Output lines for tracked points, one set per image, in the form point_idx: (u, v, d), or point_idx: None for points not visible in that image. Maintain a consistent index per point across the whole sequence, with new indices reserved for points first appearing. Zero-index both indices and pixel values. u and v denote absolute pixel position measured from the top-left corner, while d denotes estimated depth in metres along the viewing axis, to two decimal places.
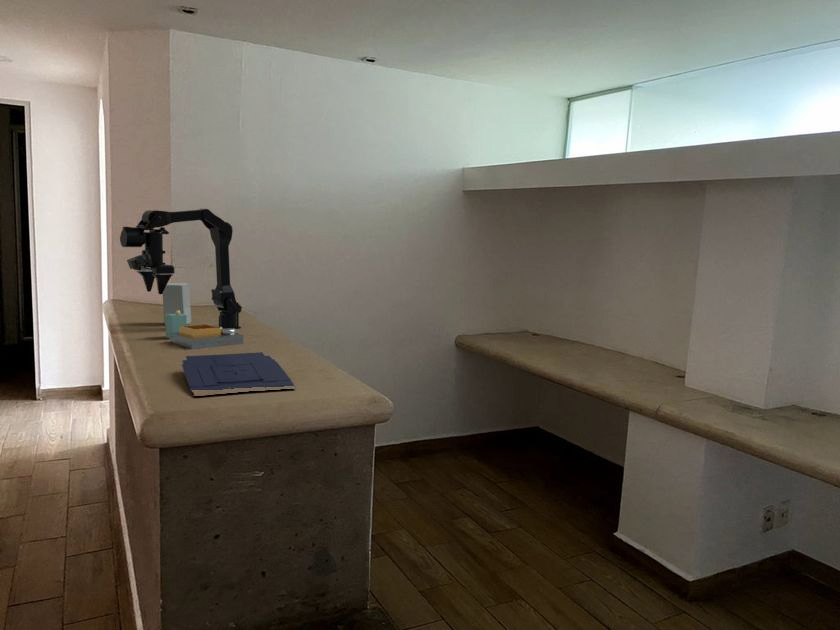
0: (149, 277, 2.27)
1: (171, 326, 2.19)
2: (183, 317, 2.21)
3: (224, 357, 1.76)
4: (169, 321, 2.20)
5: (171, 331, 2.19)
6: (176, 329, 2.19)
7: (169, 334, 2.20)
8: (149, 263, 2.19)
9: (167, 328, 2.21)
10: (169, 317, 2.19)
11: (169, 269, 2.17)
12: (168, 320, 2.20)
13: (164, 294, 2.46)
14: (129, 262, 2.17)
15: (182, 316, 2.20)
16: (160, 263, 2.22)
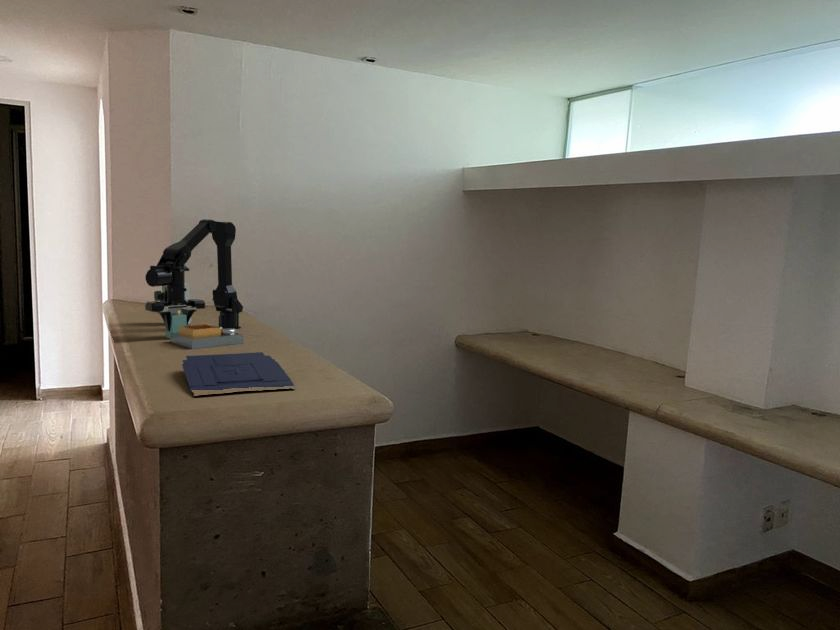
0: None
1: (171, 326, 2.19)
2: (183, 317, 2.21)
3: (224, 357, 1.76)
4: None
5: (171, 331, 2.19)
6: (176, 329, 2.19)
7: (169, 334, 2.20)
8: (163, 299, 2.20)
9: None
10: None
11: (150, 307, 2.13)
12: None
13: None
14: None
15: (182, 316, 2.20)
16: (169, 301, 2.18)
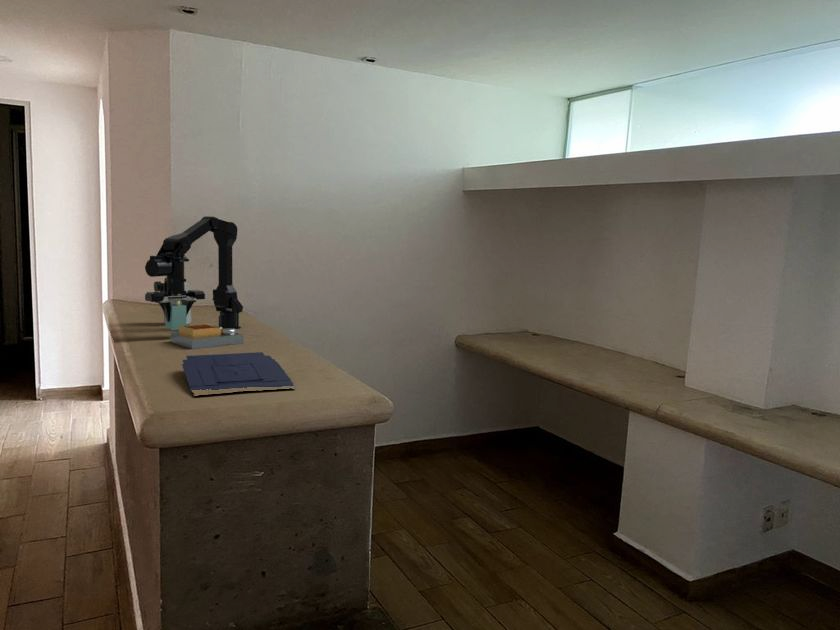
0: None
1: (171, 317, 2.18)
2: (183, 308, 2.20)
3: (224, 357, 1.76)
4: None
5: (171, 321, 2.19)
6: (176, 320, 2.19)
7: (169, 325, 2.20)
8: (163, 290, 2.20)
9: None
10: None
11: (149, 297, 2.13)
12: None
13: None
14: None
15: (182, 307, 2.20)
16: (169, 291, 2.18)
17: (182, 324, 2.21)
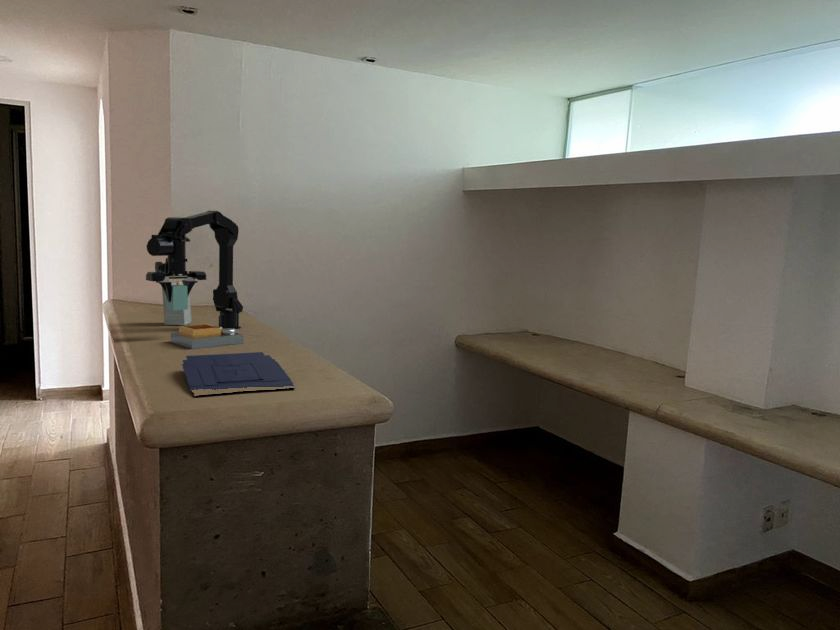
0: None
1: (172, 297, 2.17)
2: (184, 288, 2.19)
3: (224, 357, 1.76)
4: None
5: (172, 302, 2.17)
6: (177, 300, 2.17)
7: (170, 305, 2.18)
8: (164, 270, 2.19)
9: None
10: None
11: (150, 276, 2.12)
12: None
13: (164, 294, 2.46)
14: None
15: (183, 287, 2.18)
16: (170, 271, 2.16)
17: (183, 304, 2.19)
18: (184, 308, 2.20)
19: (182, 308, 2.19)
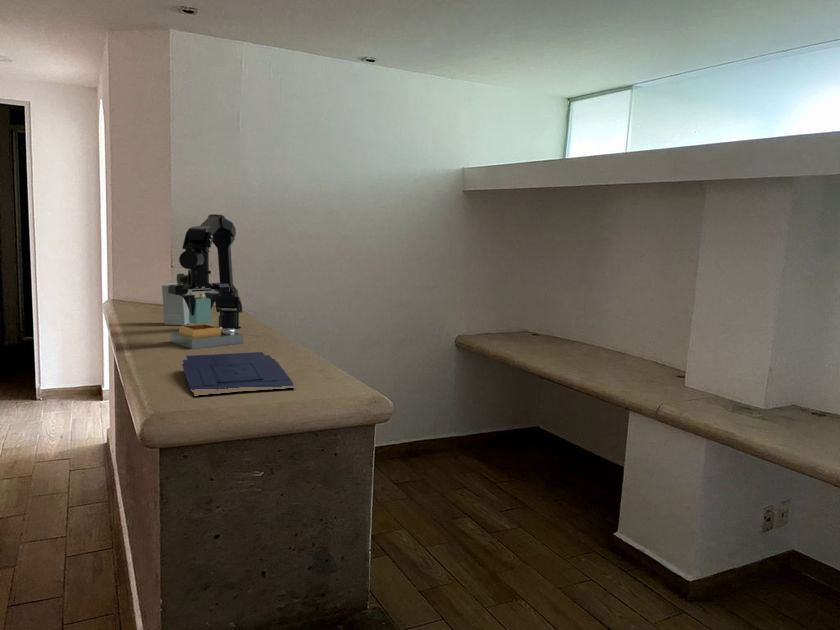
0: None
1: (195, 310, 2.09)
2: (207, 301, 2.11)
3: (224, 357, 1.76)
4: None
5: (195, 315, 2.10)
6: (200, 313, 2.10)
7: (193, 318, 2.11)
8: (187, 282, 2.11)
9: None
10: None
11: (173, 289, 2.04)
12: None
13: (164, 294, 2.46)
14: None
15: (206, 300, 2.11)
16: (193, 284, 2.09)
17: (206, 318, 2.12)
18: (207, 322, 2.12)
19: (205, 322, 2.12)
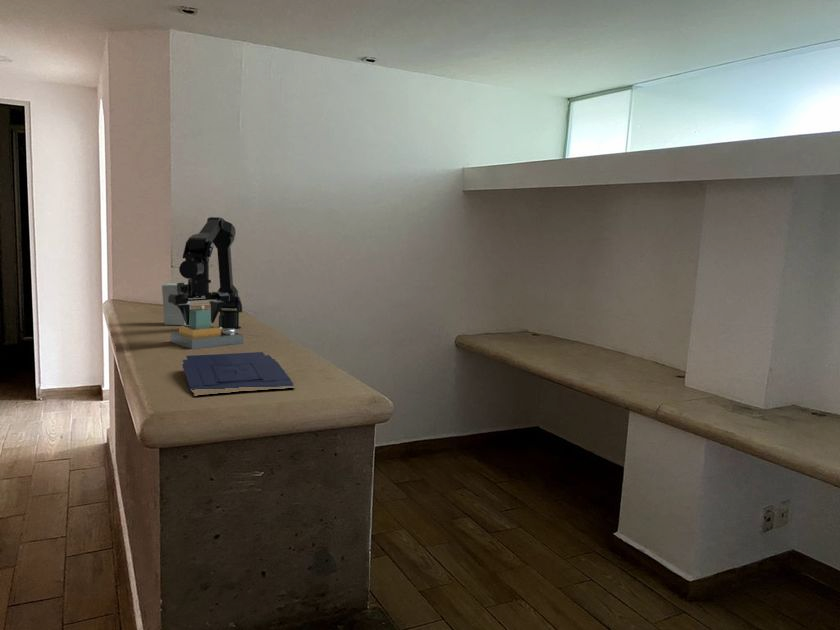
0: (213, 308, 2.15)
1: (195, 322, 2.10)
2: (207, 312, 2.12)
3: (224, 357, 1.76)
4: (193, 316, 2.11)
5: (195, 327, 2.10)
6: (200, 325, 2.10)
7: None
8: (187, 291, 2.11)
9: (190, 324, 2.12)
10: (193, 312, 2.10)
11: (173, 299, 2.04)
12: (192, 315, 2.11)
13: (164, 294, 2.46)
14: None
15: (206, 311, 2.11)
16: (193, 293, 2.09)
17: None
18: None
19: None
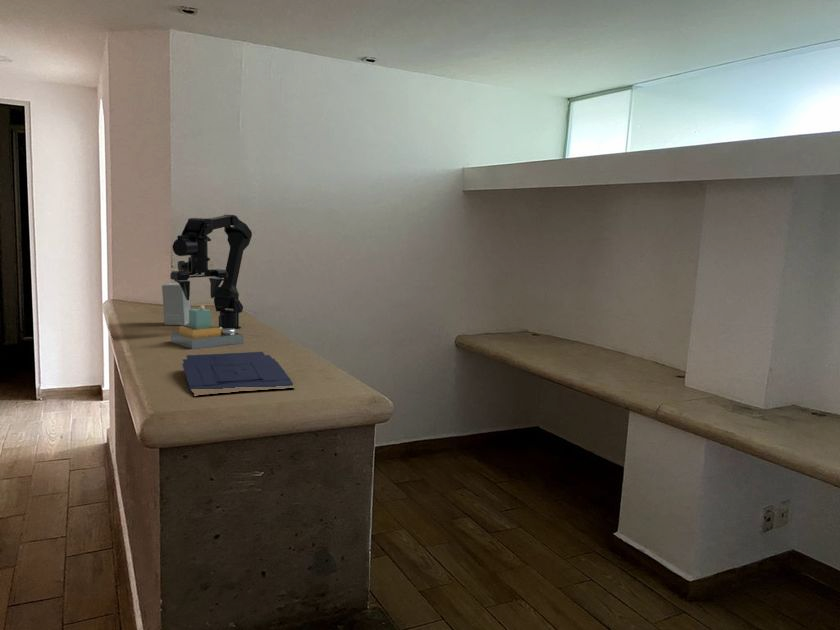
0: (213, 285, 2.31)
1: (195, 322, 2.10)
2: (207, 312, 2.12)
3: (224, 356, 1.77)
4: (193, 316, 2.10)
5: (195, 327, 2.10)
6: (200, 325, 2.10)
7: None
8: (187, 269, 2.26)
9: (190, 324, 2.12)
10: (193, 312, 2.10)
11: (175, 276, 2.19)
12: (192, 315, 2.11)
13: (164, 294, 2.46)
14: None
15: (206, 311, 2.11)
16: (193, 270, 2.24)
17: None
18: None
19: None
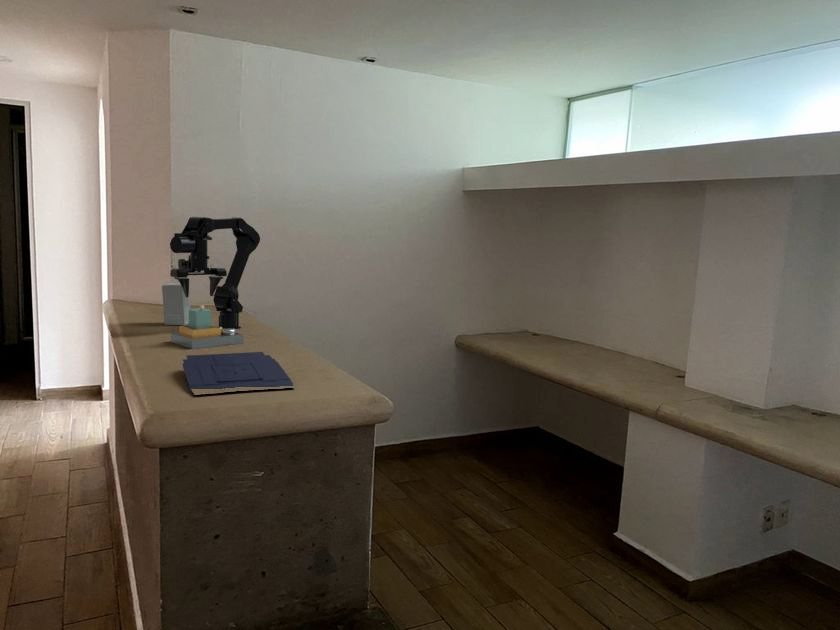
0: (212, 283, 2.34)
1: (195, 322, 2.10)
2: (207, 312, 2.12)
3: (224, 356, 1.77)
4: (192, 316, 2.10)
5: (195, 327, 2.10)
6: (200, 325, 2.10)
7: None
8: (187, 267, 2.30)
9: (190, 324, 2.12)
10: (193, 312, 2.10)
11: (175, 273, 2.23)
12: (191, 316, 2.11)
13: (164, 294, 2.46)
14: None
15: (206, 311, 2.11)
16: (193, 268, 2.28)
17: None
18: None
19: None
